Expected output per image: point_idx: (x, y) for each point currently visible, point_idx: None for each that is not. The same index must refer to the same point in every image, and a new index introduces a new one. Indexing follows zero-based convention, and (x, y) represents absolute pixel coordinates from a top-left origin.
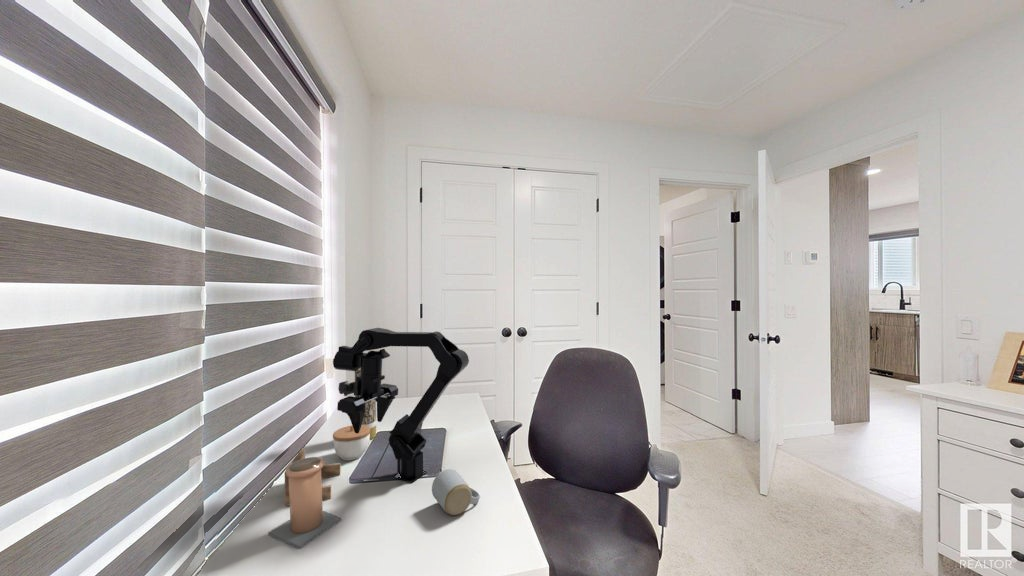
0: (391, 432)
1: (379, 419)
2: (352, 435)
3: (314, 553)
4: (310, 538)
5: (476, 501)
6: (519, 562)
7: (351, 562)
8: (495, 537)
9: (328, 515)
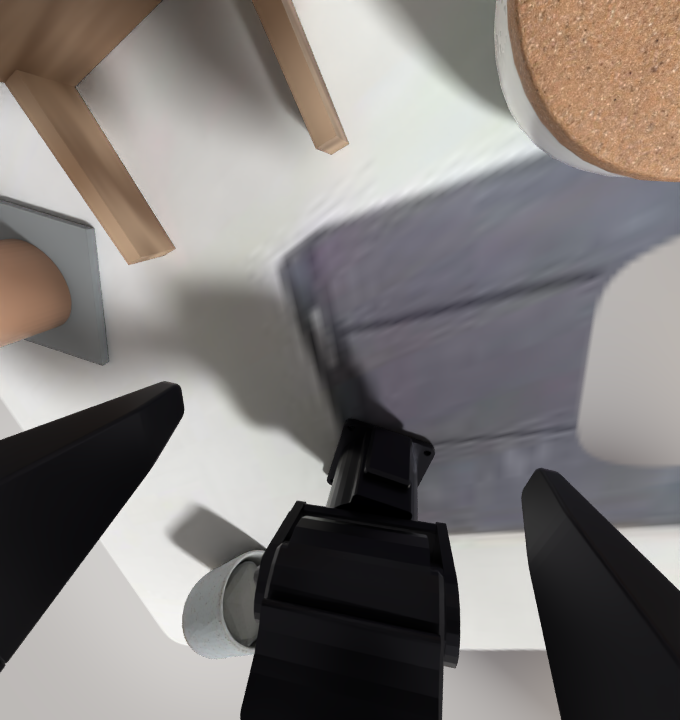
0: (263, 614)
1: (533, 510)
2: (588, 46)
3: (10, 366)
4: None
5: None
6: (169, 631)
7: None
8: None
9: (88, 323)
